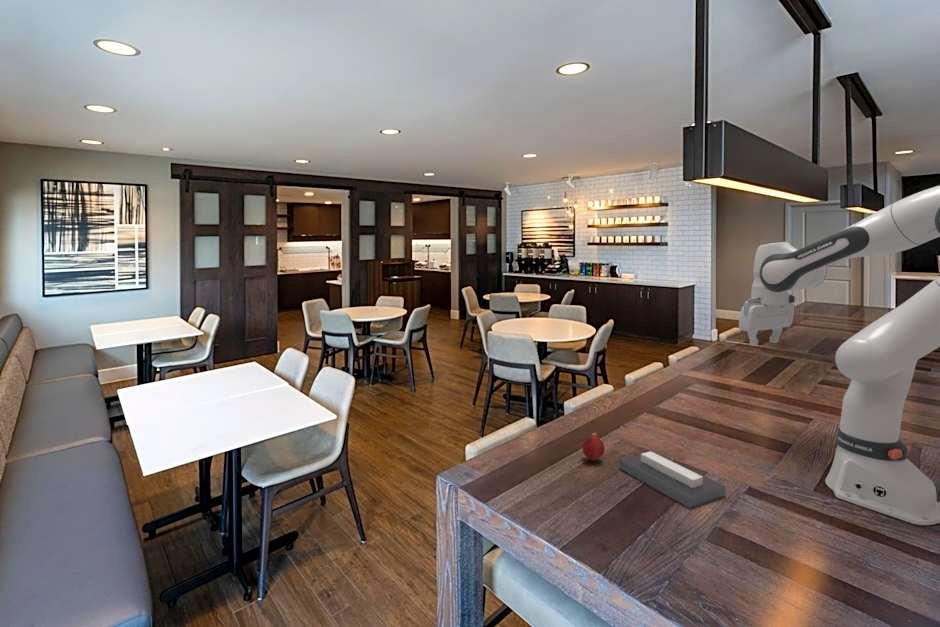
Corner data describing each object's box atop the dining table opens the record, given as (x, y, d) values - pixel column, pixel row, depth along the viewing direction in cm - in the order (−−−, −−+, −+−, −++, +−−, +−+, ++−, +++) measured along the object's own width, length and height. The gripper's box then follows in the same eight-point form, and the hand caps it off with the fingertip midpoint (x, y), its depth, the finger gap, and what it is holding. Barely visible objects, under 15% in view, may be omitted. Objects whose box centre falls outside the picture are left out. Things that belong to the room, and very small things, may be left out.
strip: (701, 492, 119) (703, 476, 119) (691, 496, 118) (692, 480, 117) (649, 465, 133) (650, 451, 133) (640, 468, 132) (640, 453, 131)
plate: (725, 496, 119) (725, 486, 118) (689, 508, 113) (690, 498, 113) (652, 459, 138) (653, 451, 137) (619, 469, 132) (620, 460, 132)
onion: (588, 466, 134) (589, 438, 132) (578, 457, 139) (579, 430, 138) (607, 464, 135) (609, 435, 134) (596, 455, 141) (598, 428, 140)
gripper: (755, 300, 139) (751, 349, 141) (799, 296, 149) (795, 342, 151) (735, 298, 145) (731, 345, 147) (778, 294, 154) (774, 338, 156)
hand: (763, 343), depth 149 cm, fingers open, 8 cm apart
